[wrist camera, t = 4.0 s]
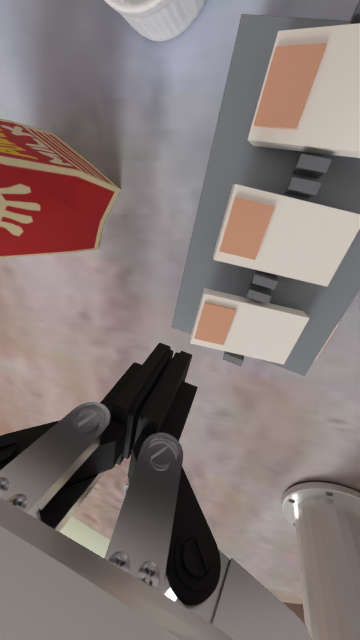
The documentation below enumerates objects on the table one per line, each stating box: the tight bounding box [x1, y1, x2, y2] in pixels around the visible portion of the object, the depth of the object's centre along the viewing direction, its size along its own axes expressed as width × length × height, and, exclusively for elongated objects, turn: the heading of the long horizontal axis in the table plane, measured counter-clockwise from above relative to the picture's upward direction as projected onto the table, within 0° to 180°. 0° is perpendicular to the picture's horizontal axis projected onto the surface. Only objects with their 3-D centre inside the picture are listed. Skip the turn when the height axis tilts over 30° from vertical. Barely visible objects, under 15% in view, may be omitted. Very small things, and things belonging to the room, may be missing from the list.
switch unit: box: [172, 0, 360, 376], centre depth 17 cm, size 13×21×7 cm, turn 168°
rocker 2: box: [190, 288, 309, 365], centre depth 18 cm, size 8×4×1 cm, turn 77°
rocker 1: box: [248, 23, 360, 158], centre depth 11 cm, size 8×4×1 cm, turn 78°
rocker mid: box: [213, 184, 360, 287], centre depth 15 cm, size 8×4×1 cm, turn 77°
